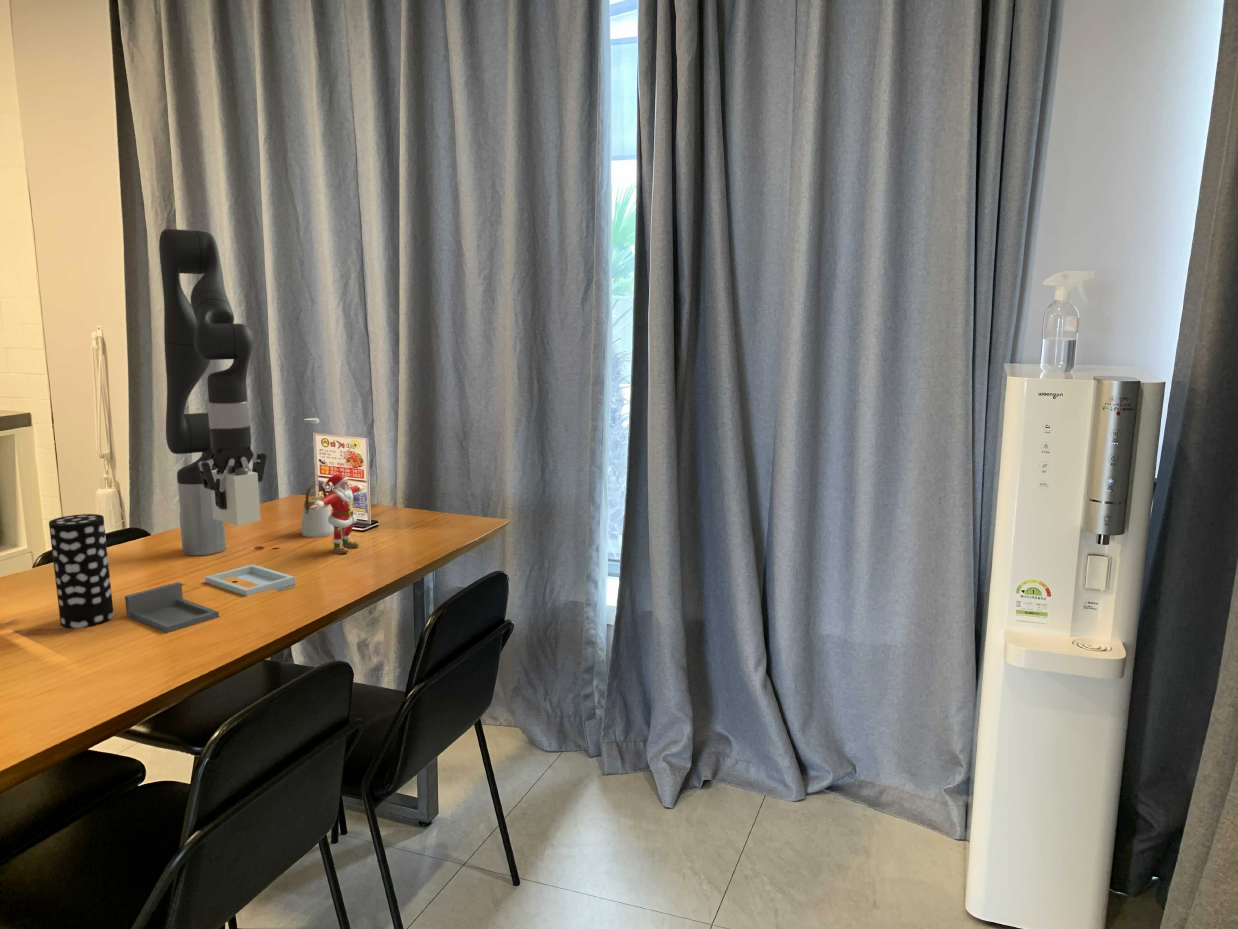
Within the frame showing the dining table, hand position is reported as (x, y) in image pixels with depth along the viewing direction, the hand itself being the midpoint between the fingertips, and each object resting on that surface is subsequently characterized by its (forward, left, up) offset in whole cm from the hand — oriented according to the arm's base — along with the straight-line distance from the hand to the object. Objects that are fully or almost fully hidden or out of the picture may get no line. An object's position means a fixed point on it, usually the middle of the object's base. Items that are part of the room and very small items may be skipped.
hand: (235, 505), depth 172 cm
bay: (+7, -18, -18) cm, 26 cm away
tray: (0, +2, -18) cm, 18 cm away
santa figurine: (-7, +31, -18) cm, 37 cm away
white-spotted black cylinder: (-4, -28, -18) cm, 34 cm away
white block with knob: (0, 0, -3) cm, 3 cm away
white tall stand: (-25, +37, -18) cm, 48 cm away
